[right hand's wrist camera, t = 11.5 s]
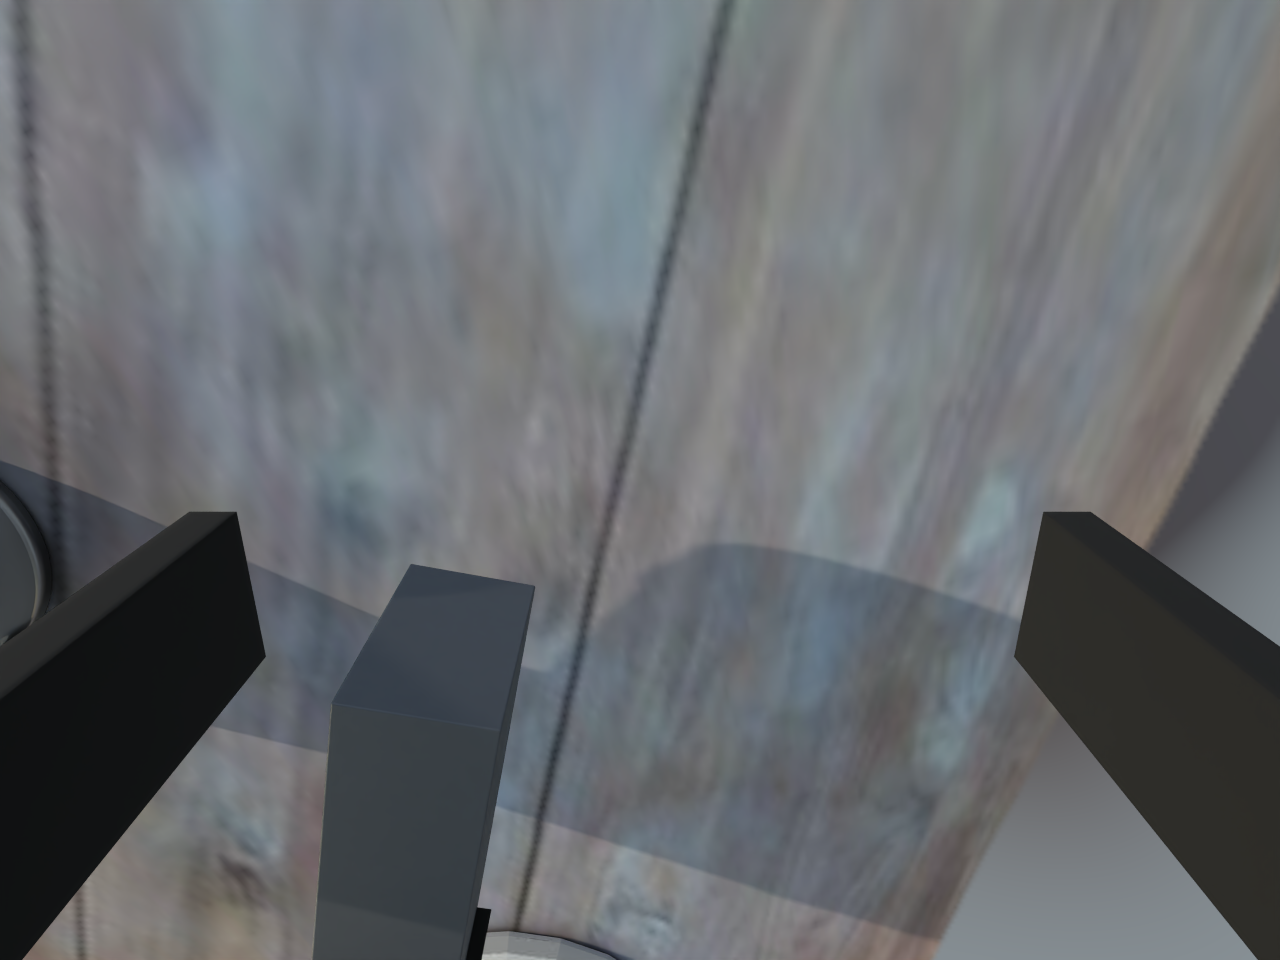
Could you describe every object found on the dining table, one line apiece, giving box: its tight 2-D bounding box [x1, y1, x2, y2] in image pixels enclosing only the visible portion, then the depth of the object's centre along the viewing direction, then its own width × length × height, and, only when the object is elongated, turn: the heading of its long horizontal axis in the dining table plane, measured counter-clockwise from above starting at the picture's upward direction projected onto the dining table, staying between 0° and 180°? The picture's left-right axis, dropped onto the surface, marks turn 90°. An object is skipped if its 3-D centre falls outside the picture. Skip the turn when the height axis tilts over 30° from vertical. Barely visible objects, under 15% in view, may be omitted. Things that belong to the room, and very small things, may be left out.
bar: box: [312, 564, 535, 960], centre depth 31 cm, size 23×5×9 cm, turn 168°
